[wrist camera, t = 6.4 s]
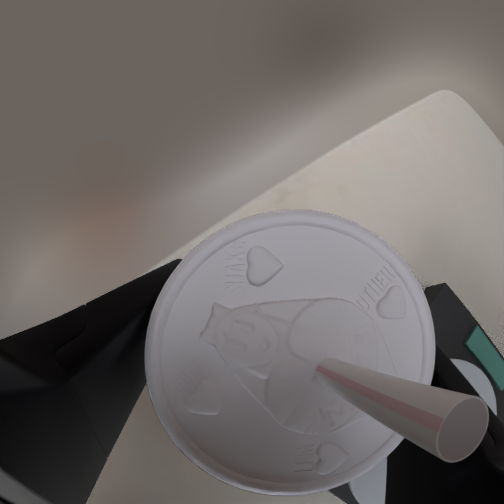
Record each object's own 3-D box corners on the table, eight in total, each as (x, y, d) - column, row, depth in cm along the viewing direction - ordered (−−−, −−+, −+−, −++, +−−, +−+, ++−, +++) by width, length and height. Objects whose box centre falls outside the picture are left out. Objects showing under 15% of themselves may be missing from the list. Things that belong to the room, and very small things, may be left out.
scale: (398, 528, 16) (414, 546, 13) (283, 447, 18) (290, 466, 15) (510, 392, 19) (534, 395, 16) (427, 286, 21) (452, 280, 18)
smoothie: (300, 421, 14) (452, 629, 1) (181, 373, 15) (-40, 508, 1) (348, 305, 16) (609, 216, 2) (232, 257, 16) (195, -10, 3)
